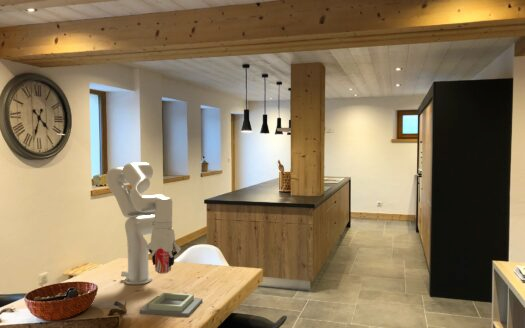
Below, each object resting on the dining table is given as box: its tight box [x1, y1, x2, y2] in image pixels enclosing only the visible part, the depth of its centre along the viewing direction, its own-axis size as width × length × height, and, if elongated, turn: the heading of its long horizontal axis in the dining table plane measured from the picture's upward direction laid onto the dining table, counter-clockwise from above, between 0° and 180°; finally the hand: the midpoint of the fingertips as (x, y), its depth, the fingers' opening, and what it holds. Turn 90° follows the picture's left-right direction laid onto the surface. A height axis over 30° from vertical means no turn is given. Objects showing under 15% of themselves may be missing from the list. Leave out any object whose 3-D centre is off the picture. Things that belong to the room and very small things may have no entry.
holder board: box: [139, 292, 203, 317], centre depth 166 cm, size 20×16×3 cm
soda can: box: [154, 247, 172, 275], centre depth 183 cm, size 7×7×12 cm
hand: (163, 264), depth 183 cm, fingers closed on soda can, 7 cm apart
